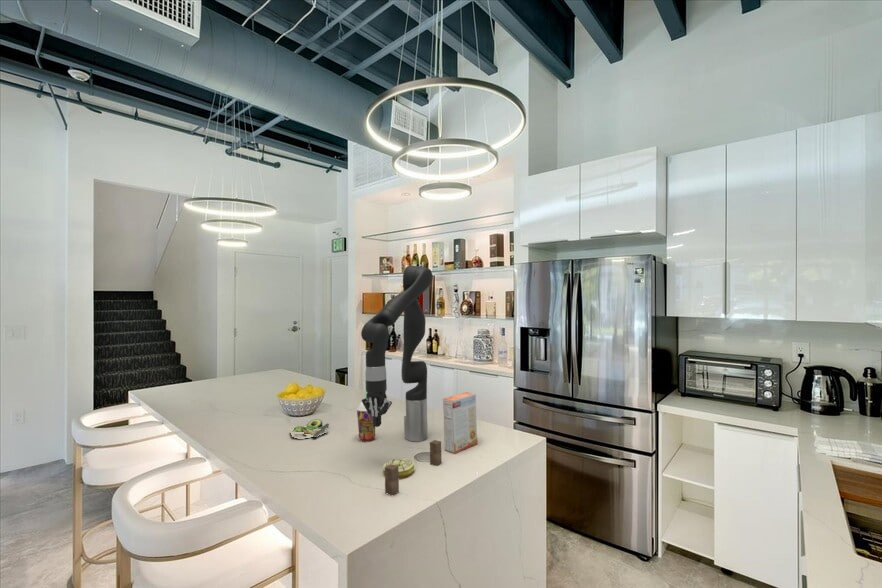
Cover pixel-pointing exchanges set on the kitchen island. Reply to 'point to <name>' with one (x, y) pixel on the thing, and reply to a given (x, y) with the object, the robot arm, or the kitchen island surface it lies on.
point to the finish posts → (392, 470)
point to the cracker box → (460, 422)
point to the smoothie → (365, 423)
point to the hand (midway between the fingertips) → (377, 426)
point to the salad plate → (312, 428)
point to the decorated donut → (401, 466)
